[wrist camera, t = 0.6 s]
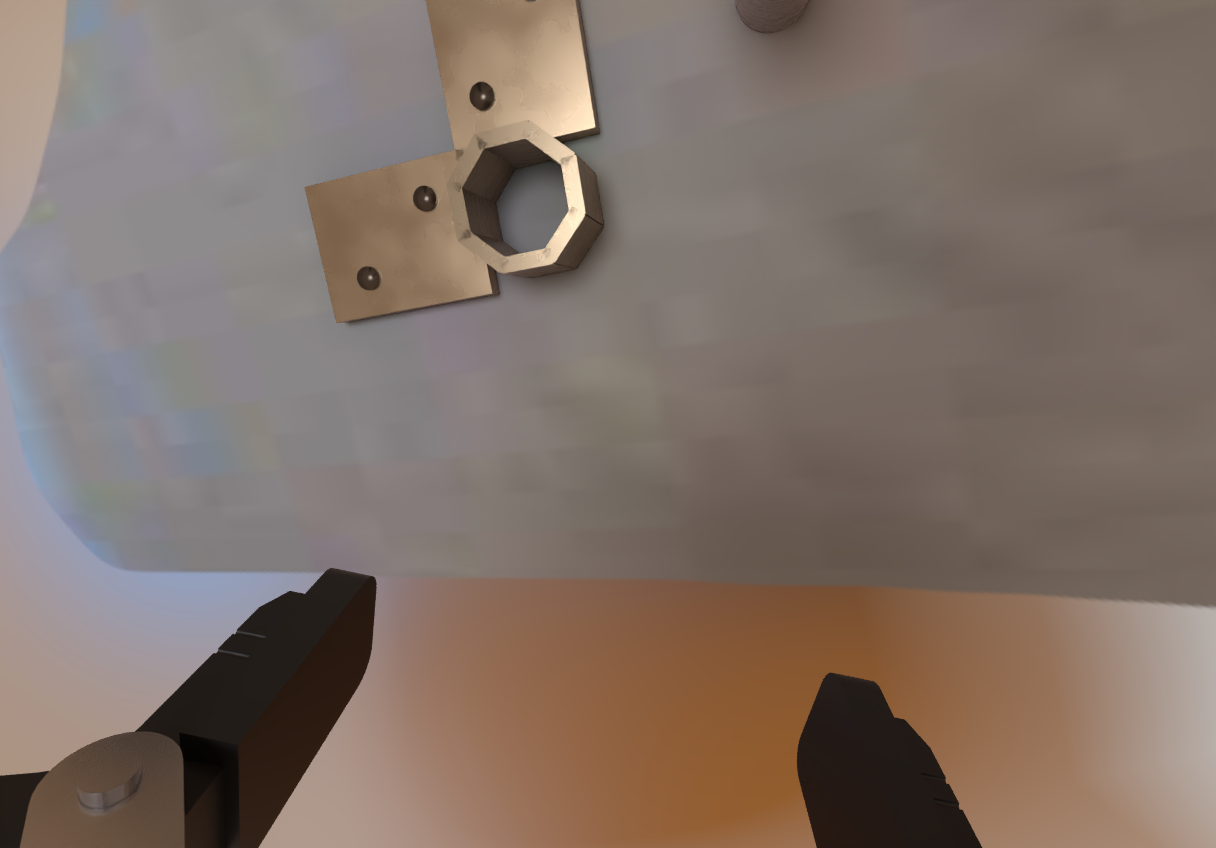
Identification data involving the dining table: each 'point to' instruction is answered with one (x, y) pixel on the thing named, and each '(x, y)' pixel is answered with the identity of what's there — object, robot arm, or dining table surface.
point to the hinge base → (469, 167)
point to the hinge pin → (770, 13)
